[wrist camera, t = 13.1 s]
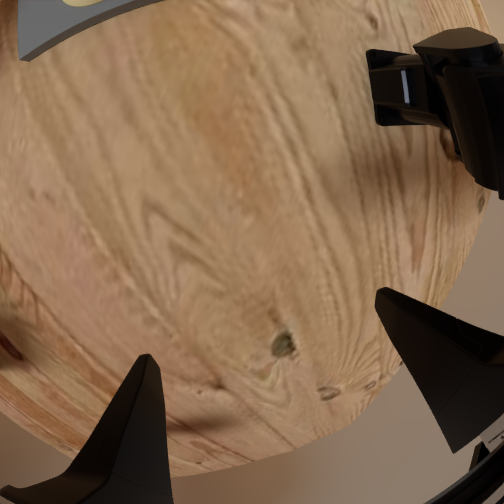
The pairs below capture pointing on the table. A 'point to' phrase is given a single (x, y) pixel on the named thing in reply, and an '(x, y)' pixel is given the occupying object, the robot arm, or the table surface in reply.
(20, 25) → the board
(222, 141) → the table surface
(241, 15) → the table surface
